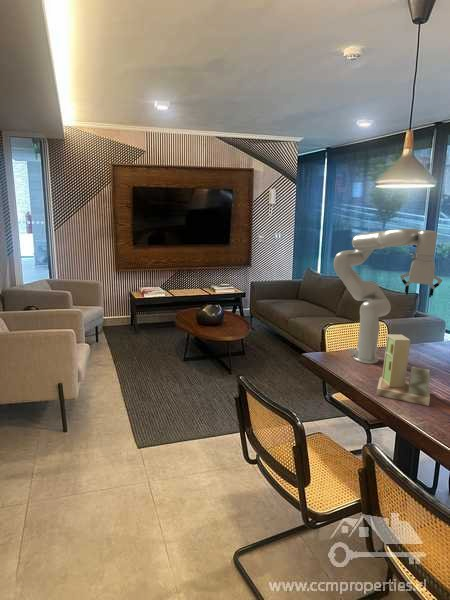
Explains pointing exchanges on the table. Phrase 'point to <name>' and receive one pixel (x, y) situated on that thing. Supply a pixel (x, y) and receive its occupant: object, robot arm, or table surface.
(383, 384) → the board
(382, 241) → the robot arm
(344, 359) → the table surface
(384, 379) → the toy refrigerator
